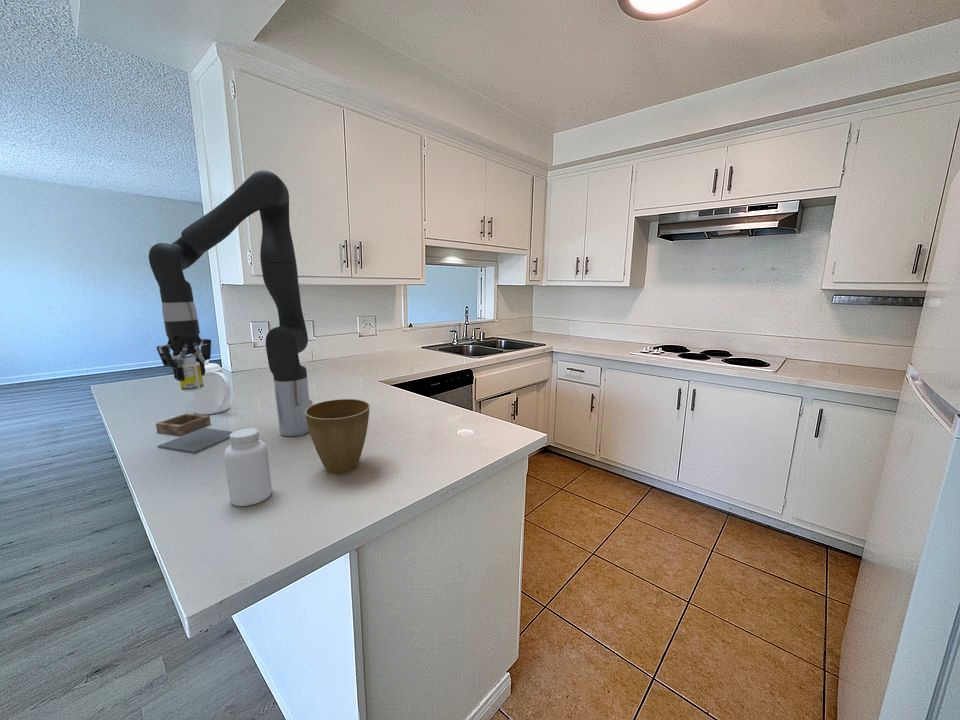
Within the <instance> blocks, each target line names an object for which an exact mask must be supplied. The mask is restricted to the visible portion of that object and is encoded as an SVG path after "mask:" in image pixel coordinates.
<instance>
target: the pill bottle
mask: <svg viewBox="0 0 960 720" xmlns="http://www.w3.org/2000/svg"><path fill="white" fill-rule="evenodd" d="M232 432H233V433H231V434H230V436H229V437H230V439H229V446H227V447H226V449H225V450H224V452H223V459H224V467H225V471H226V479H227V486H228V494H229V499H230V503H232V505H233V506H236V507H247V506H253V505H256V504H258V503H261V502H263V501H265V500H267V499H268V498H269V497H270V496H271V495H272V492H273V486H272V485H273V484H272V477H271V476H272V475H271V468H270V460H269V459H270V458H269V452H268V446H267V443H265V441H263V440H261V439H260V432H259V429H257V428H251V427H250V428H243V429H238V430H235V431H232Z"/></svg>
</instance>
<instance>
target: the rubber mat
mask: <svg viewBox="0 0 960 720" xmlns="http://www.w3.org/2000/svg"><path fill="white" fill-rule="evenodd" d="M233 432H234V431H230V430H223V429H215V428H208V427H207V428H206V427H203V428H201V429H198V430H196V431H193V432H190V433H188V434H185V435H182V436H178V437H177V438H174V439H172V440H169V441H166V442H164V443H161V444H159V445H157V448H158V447H159V448H158V449H163V448H165V449H164V450H169V449H170V450H169V451H174V452H175V451H176V452H182V453H187V454H188V453H190V454H195V455H196V454H198V453H201V452H202V451H205V450H207V449H209V448H211V446H212V447H214V446H216V445H218V443H219V444H221V443H222V442H225V441H229V440H230V437H229V436H230V434H231V433H233Z"/></svg>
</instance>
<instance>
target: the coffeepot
mask: <svg viewBox="0 0 960 720" xmlns="http://www.w3.org/2000/svg"><path fill="white" fill-rule="evenodd" d="M204 365H205V373H204V374H205V375H204V376H202V379H203V385H204V387H203V388H202V389H199V390H195V391H192V403H193V412H194V414H197V415H205V416H209V415H215V413H216V414H218V413H219V414H220V413H222V412H225V411H227V410H229V409H230V407H231V403H230V398H231V397H230V396H231V385H230V381H229V379H228V378H227V376H226V375H225V374H224V372H223V367H221V366H220V364H219V363H214V362H213V363H212V362H210V359H209V360H206V361H205V362H204ZM208 414H209V415H208Z"/></svg>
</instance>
